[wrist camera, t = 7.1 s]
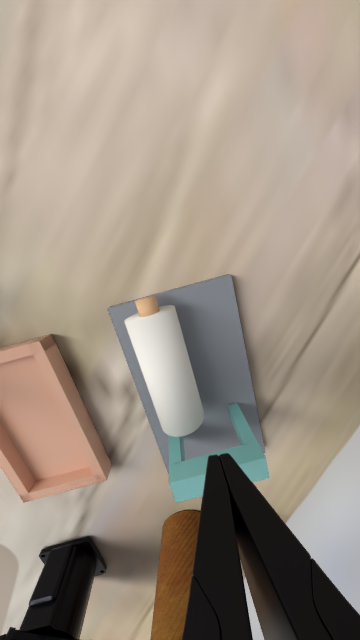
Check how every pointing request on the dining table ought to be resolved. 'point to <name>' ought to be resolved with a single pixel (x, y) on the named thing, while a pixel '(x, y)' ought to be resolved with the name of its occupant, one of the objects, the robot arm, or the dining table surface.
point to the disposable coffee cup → (174, 575)
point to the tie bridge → (191, 473)
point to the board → (202, 364)
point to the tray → (45, 424)
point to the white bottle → (165, 366)
